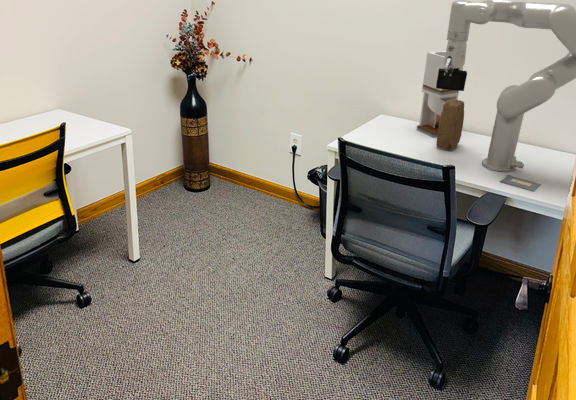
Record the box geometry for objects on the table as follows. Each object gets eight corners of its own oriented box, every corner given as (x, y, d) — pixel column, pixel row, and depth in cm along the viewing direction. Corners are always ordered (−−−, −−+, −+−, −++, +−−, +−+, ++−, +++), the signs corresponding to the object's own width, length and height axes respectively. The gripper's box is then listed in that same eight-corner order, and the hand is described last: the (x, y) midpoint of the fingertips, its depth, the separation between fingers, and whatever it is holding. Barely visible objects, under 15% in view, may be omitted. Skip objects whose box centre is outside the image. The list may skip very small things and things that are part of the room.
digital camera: (463, 88, 211) (466, 69, 208) (464, 91, 207) (467, 72, 204) (435, 85, 213) (438, 67, 210) (436, 88, 209) (439, 70, 206)
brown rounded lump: (449, 152, 225) (457, 105, 216) (433, 148, 229) (440, 101, 221) (461, 146, 232) (469, 100, 224) (445, 141, 237) (453, 96, 228)
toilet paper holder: (416, 129, 250) (427, 52, 235) (434, 126, 255) (446, 50, 239) (433, 137, 241) (445, 57, 226) (451, 134, 246) (464, 55, 230)
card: (540, 184, 198) (540, 183, 198) (533, 191, 193) (533, 190, 193) (507, 175, 205) (507, 174, 205) (500, 182, 200) (500, 180, 199)
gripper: (459, 40, 193) (451, 90, 201) (475, 34, 206) (467, 81, 214) (439, 37, 197) (432, 87, 205) (456, 32, 210) (449, 78, 218)
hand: (450, 83), depth 209 cm, fingers closed on digital camera, 6 cm apart
